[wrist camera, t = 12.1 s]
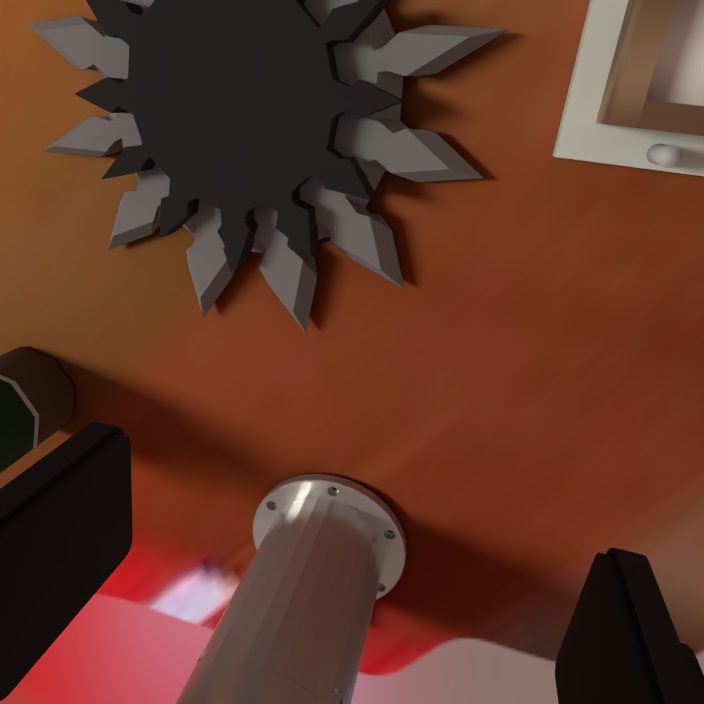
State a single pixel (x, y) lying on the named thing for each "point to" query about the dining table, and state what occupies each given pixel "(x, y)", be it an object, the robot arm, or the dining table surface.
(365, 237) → the decorative piece
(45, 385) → the beer bottle
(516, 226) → the dining table surface
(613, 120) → the frame
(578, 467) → the dining table surface
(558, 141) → the panel
